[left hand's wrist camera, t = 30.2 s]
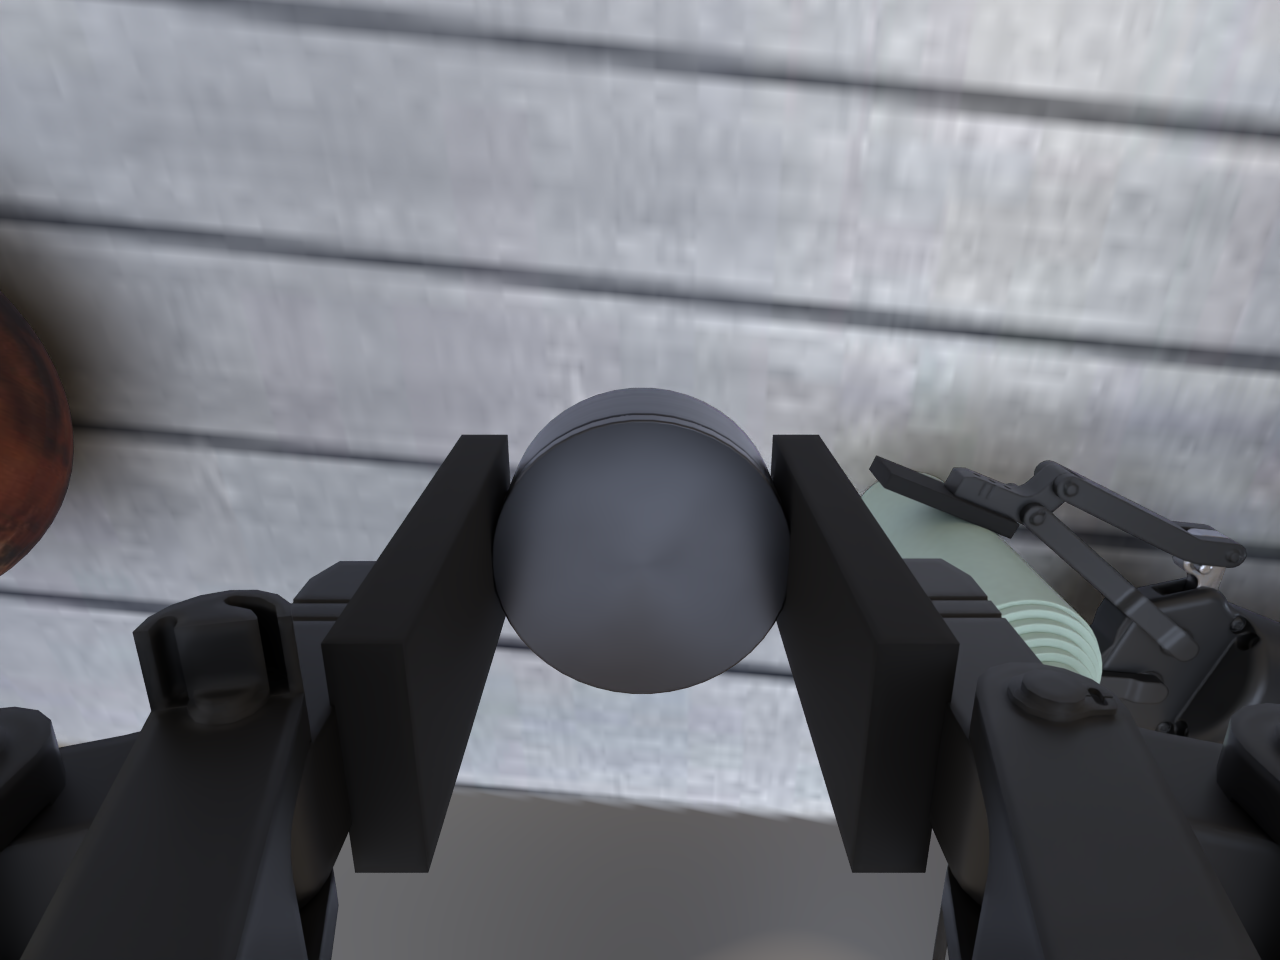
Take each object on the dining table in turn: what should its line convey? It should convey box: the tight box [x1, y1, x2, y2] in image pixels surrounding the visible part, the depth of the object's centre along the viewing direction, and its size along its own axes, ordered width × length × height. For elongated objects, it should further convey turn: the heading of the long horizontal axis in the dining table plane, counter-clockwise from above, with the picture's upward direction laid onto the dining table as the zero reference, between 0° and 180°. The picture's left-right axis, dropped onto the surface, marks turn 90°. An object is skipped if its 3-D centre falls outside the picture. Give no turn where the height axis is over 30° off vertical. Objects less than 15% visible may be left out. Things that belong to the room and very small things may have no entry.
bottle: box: [861, 472, 1102, 684], centre depth 37 cm, size 6×6×20 cm
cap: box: [491, 388, 791, 694], centre depth 13 cm, size 4×4×2 cm
